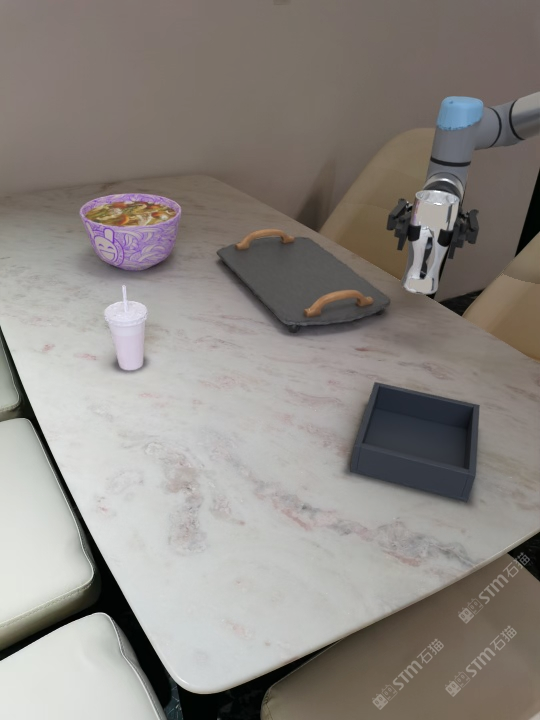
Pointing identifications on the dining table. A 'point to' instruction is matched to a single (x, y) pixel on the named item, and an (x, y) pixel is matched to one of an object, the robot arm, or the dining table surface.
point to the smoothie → (127, 331)
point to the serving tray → (301, 280)
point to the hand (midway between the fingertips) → (426, 246)
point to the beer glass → (429, 239)
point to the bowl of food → (131, 228)
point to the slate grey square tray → (418, 441)
